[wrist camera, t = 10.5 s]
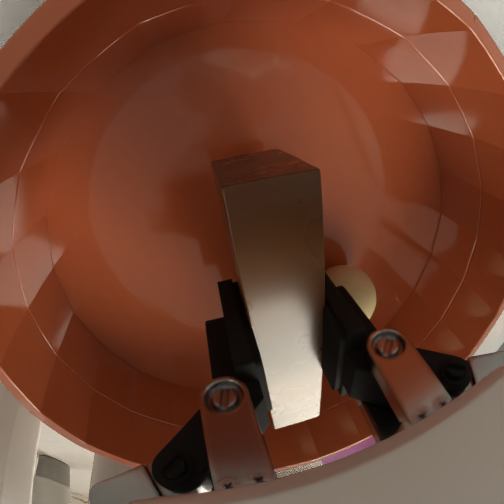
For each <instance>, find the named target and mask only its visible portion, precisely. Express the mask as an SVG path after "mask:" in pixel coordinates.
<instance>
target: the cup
mask: <svg viewBox="0 0 504 504" xmlns="http://www.w3.org/2000/svg"><path fill="white" fill-rule="evenodd" d="M32 504H72V503H71V488H70V468H69V466H68V465H66V464H65V463H63V462H61V461H59V460H56V459H53V458H50V457H47V456H39V461H38V465H37V470H36V474H35V476H34V480H33V490H32Z"/></svg>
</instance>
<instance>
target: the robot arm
mask: <svg viewBox="0 0 504 504" xmlns="http://www.w3.org/2000/svg"><path fill="white" fill-rule="evenodd" d="M217 284H218V289H219V295H220V300H221V305H222V311H223V316H224V317H221V318H217V319H213V320H208V321H205V327H206V335H207V343H208V351H209V359H210V366H211V374H212V380H211V381H210V382H208V383H207V384H206V385H205V386H204V387H203V388H202V390H201V392H200V395H199V405H200V409H199V410H198V411H197V412H196V413H195V415H194V416H193V417H192V418H191V419H190V420H189V421H188V422H187V423H186V424H185V426H184V427H183V428H182V429H181V430H180V431H179V432H178V433H177V434H176V435H175V436H174V437H173V438H172V439H171V441H170V442H169V443H168V444H167V445H166V446H165V447H164V448H163V449H162V450H161V451H160V452H159V453H158V454H157V455H156V457H155V458H154V460H153V462H152V463H150V464H148V465H146V466H145V465H143V464H142V465H139V466H137V467H135V468H133V469H130V470H128V471H126V472H123V473H121V474H118V475H116V476H113V477H111V478H108V479H106V480H103V481H100V482H98V483H96V484H95V485H93V486H92V488H91V489H90V492H89V500H90V504H504V351H499V352H494V353H489V354H484V355H478V356H472V357H468V358H467V360H464V359H463V358H461V357H458V356H454V355H449V354H444V353H439V352H435V351H430V350H425V349H421V348H416V347H415V346H414V345H413V344H412V342H411V341H410V340H409V338H408V337H407V336H406V335H405V334H404V333H403V332H401V331H399V330H397V329H394V328H381V329H378V330H377V329H376V328H375V326H374V325H373V324H372V322H371V321H370V320H369V318H368V317H367V316H366V314H365V313H364V312H363V311H362V309H361V308H360V307H359V305H358V304H357V303H356V301H355V300H354V299H353V298H352V296H351V295H350V294H349V292H348V291H347V290H346V289H345V288H344V287H343V286H338V287H336V286H335V284H334V283H333V282H332V280H331V279H330V278H329V276H328V275H327V274H326V272H325V308H323V344H322V370H323V372H324V374H325V376H326V378H327V380H328V382H329V385H330V387H331V388H332V390H333V391H334V390H338V392H339V394H340V396H343V395H345V394H348V395H349V397H351V398H354V399H355V400H356V403H357V405H358V407H359V409H360V411H361V413H362V415H363V418H364V420H365V422H366V424H367V426H368V428H369V430H370V432H371V434H372V436H373V438H374V441H375V443H376V444H374V445H372V446H370V447H368V448H365V449H363V450H361V451H358V452H356V453H353V454H351V455H349V456H346V457H343V458H341V459H338V460H336V461H333V462H330V463H327V464H324V465H321V466H319V467H315V468H312V469H309V470H306V471H303V472H300V473H296V474H293V475H289V476H285V477H282V478H277V475H276V472H275V469H274V466H273V463H272V460H271V457H270V454H269V451H268V448H267V444H266V441H265V438H264V435H263V432H264V431H265V430H266V428H267V427H268V425H269V424H270V419H269V416H268V412H267V411H269V410H273V408H272V403H271V399H270V394H269V390H268V385H267V381H266V376H265V371H264V367H263V363H262V359H261V355H260V352H259V349H258V345H257V342H256V339H255V335H254V332H253V329H252V328H251V327H250V324H249V321H248V318H247V314H246V311H245V308H244V304H243V301H242V297H241V294H240V290H239V287H238V283H237V282H232V279H228V280H224V281H220V282H217Z"/></svg>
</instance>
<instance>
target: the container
mask: <svg viewBox="0 0 504 504" xmlns="http://www.w3.org/2000/svg"><path fill="white" fill-rule="evenodd" d="M42 423H43V422H42V421H40V420H39V419H38V418H36V417H35V416H34V415H32V414H31V413H30V412H29V411H28V410H27V409H26V408H25V407H24V406H23V405H22V404H21V403H20V402H19V401H18V400H17V399H16V398H15V397H14V396H13V395H12V393H11V392H10V391H9V390H8V389H7V388H6V387H5V386H4V384H3V383H2V382H1V381H0V504H32V490H33V479H34V471H35V463H36V456H37V450H38V444H39V438H40V433H41V428H42Z"/></svg>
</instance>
